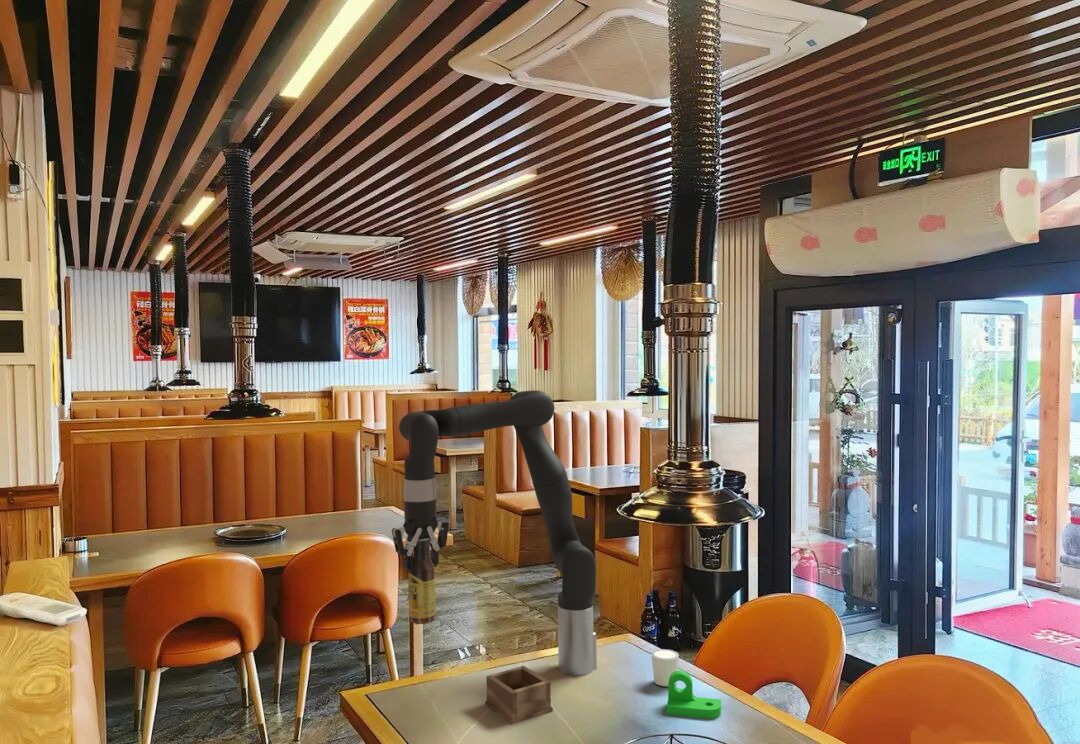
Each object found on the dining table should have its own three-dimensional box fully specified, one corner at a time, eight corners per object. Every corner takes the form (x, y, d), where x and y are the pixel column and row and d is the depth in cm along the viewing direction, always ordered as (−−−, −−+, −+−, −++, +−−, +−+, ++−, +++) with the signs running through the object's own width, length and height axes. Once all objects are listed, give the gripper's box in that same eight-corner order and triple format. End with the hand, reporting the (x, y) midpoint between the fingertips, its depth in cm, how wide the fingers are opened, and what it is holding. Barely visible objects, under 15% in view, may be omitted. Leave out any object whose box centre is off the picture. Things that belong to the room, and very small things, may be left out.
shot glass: (662, 673, 200) (662, 646, 200) (684, 681, 195) (684, 653, 195) (646, 681, 195) (645, 654, 195) (668, 690, 190) (668, 661, 190)
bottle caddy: (524, 693, 189) (523, 664, 189) (552, 712, 179) (552, 682, 179) (485, 705, 183) (484, 676, 183) (512, 725, 173) (511, 694, 173)
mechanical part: (666, 714, 178) (666, 680, 178) (668, 703, 184) (668, 669, 184) (720, 719, 175) (720, 684, 175) (721, 708, 181) (720, 673, 181)
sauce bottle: (406, 618, 185) (403, 536, 185) (431, 614, 188) (429, 533, 187) (413, 627, 179) (410, 542, 179) (439, 623, 182) (437, 539, 181)
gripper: (440, 491, 190) (441, 560, 190) (385, 498, 182) (386, 570, 182) (454, 496, 184) (456, 567, 184) (398, 503, 176) (399, 577, 176)
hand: (421, 568), depth 183 cm, fingers closed on sauce bottle, 5 cm apart
